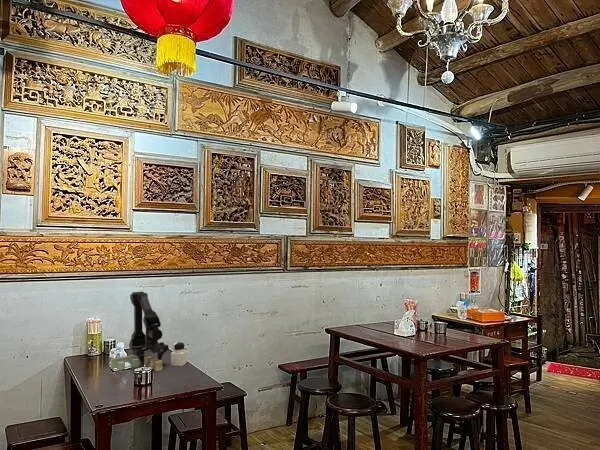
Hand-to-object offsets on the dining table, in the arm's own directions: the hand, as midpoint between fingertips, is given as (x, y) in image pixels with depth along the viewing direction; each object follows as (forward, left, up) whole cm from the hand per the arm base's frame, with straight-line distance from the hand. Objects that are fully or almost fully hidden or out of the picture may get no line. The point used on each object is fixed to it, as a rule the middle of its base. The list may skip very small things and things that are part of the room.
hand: (151, 365), depth 269 cm
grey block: (-9, -10, -1) cm, 13 cm away
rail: (+1, 0, -1) cm, 1 cm away
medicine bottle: (+6, +14, -1) cm, 15 cm away
